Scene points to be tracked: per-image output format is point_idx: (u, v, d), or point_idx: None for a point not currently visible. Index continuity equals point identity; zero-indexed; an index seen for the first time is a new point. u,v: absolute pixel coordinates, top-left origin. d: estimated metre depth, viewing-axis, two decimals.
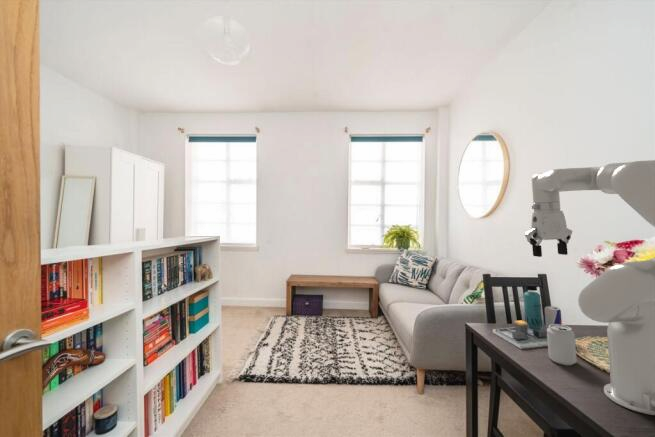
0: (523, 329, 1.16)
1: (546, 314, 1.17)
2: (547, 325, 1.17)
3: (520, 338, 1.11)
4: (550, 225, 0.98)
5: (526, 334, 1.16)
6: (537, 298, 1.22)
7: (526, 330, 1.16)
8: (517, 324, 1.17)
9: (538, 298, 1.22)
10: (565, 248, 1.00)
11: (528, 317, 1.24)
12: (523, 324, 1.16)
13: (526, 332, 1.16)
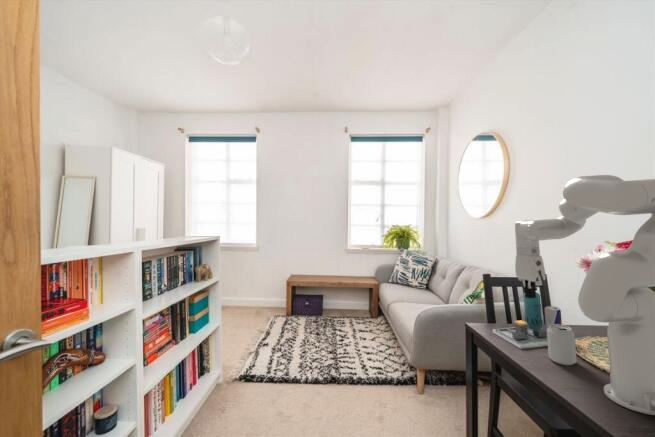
0: (523, 329, 1.16)
1: (546, 314, 1.17)
2: (547, 325, 1.17)
3: (520, 338, 1.11)
4: None
5: (526, 334, 1.16)
6: (537, 298, 1.22)
7: (526, 330, 1.16)
8: (517, 324, 1.17)
9: (538, 298, 1.22)
10: None
11: (528, 317, 1.24)
12: (523, 324, 1.16)
13: (526, 332, 1.16)
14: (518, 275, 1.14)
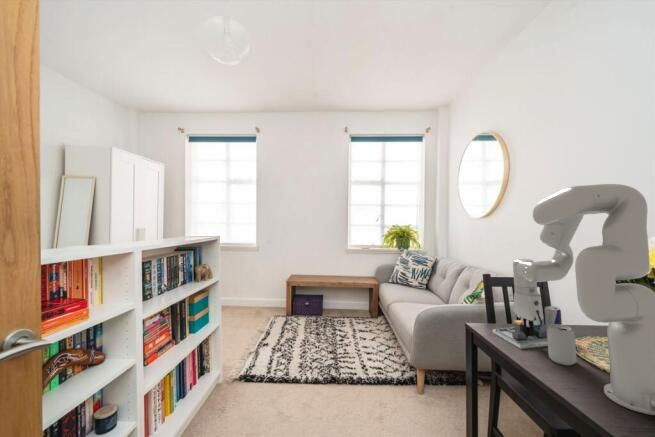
0: (522, 329, 1.16)
1: (546, 314, 1.17)
2: (547, 325, 1.17)
3: (520, 338, 1.11)
4: None
5: None
6: None
7: None
8: (516, 324, 1.18)
9: None
10: None
11: None
12: None
13: None
14: (516, 312, 1.16)
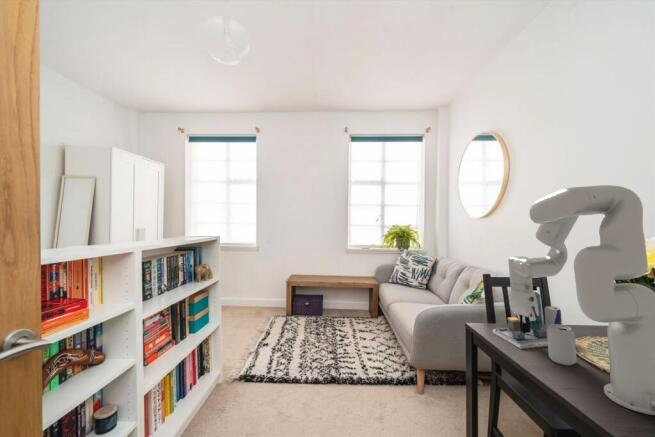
0: (516, 326, 1.20)
1: (546, 314, 1.17)
2: (547, 325, 1.17)
3: (520, 338, 1.11)
4: None
5: (519, 330, 1.20)
6: (537, 298, 1.22)
7: (519, 326, 1.20)
8: (510, 321, 1.21)
9: (538, 298, 1.22)
10: None
11: None
12: (516, 321, 1.20)
13: (519, 328, 1.20)
14: (513, 309, 1.18)
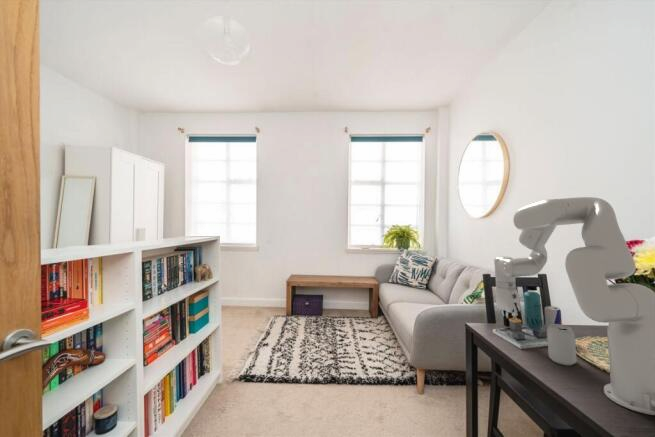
0: (517, 326, 1.19)
1: (546, 314, 1.17)
2: (547, 325, 1.17)
3: (520, 338, 1.11)
4: None
5: None
6: (537, 298, 1.22)
7: (520, 327, 1.19)
8: (511, 321, 1.20)
9: (538, 298, 1.22)
10: None
11: (528, 317, 1.24)
12: (517, 321, 1.19)
13: (520, 329, 1.19)
14: (498, 305, 1.28)
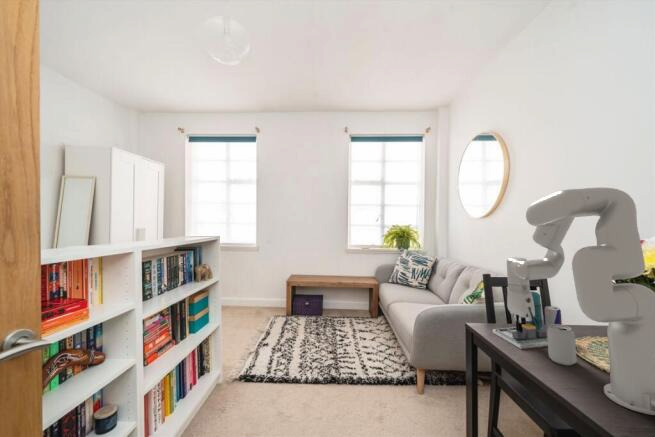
0: (531, 333, 1.12)
1: (546, 314, 1.17)
2: (547, 325, 1.17)
3: (520, 338, 1.11)
4: None
5: (535, 338, 1.12)
6: (537, 298, 1.22)
7: (534, 334, 1.12)
8: (525, 328, 1.13)
9: (538, 298, 1.22)
10: None
11: None
12: (531, 328, 1.12)
13: (534, 336, 1.12)
14: (510, 309, 1.20)
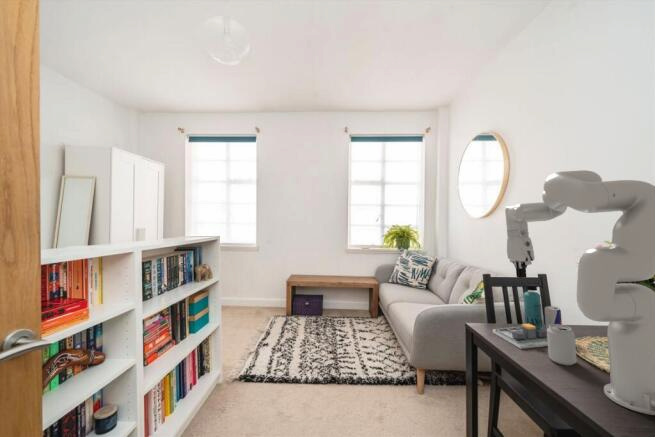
0: (531, 333, 1.12)
1: (546, 314, 1.17)
2: (547, 325, 1.17)
3: (520, 338, 1.11)
4: None
5: (535, 338, 1.12)
6: (537, 298, 1.22)
7: (534, 334, 1.12)
8: (525, 328, 1.13)
9: (538, 298, 1.22)
10: None
11: (528, 317, 1.24)
12: (531, 328, 1.12)
13: (534, 336, 1.12)
14: (509, 257, 1.22)
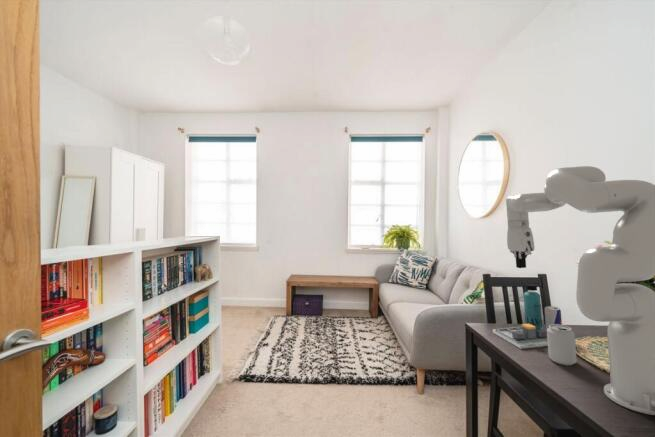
0: (531, 333, 1.12)
1: (546, 314, 1.17)
2: (547, 325, 1.17)
3: (520, 338, 1.11)
4: None
5: (535, 338, 1.12)
6: (537, 298, 1.22)
7: (534, 334, 1.12)
8: (525, 328, 1.13)
9: (538, 298, 1.22)
10: None
11: (528, 317, 1.24)
12: (531, 328, 1.12)
13: (534, 336, 1.12)
14: (510, 247, 1.23)
